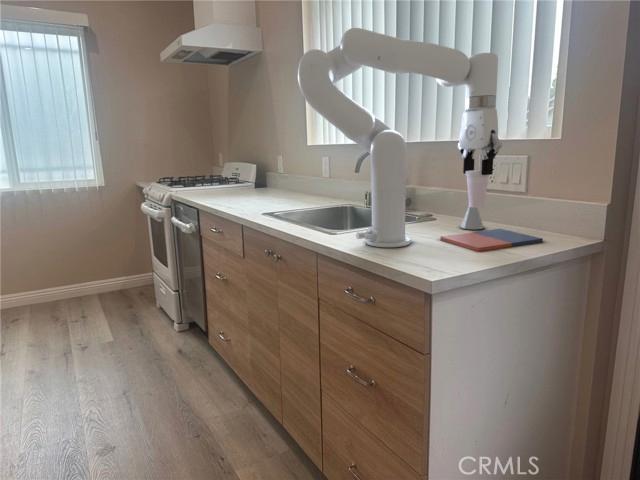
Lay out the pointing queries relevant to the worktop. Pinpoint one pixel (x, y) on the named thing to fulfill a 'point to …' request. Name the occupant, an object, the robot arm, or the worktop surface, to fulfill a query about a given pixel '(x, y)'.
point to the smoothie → (476, 186)
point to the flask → (472, 219)
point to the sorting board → (490, 239)
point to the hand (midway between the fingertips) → (477, 173)
